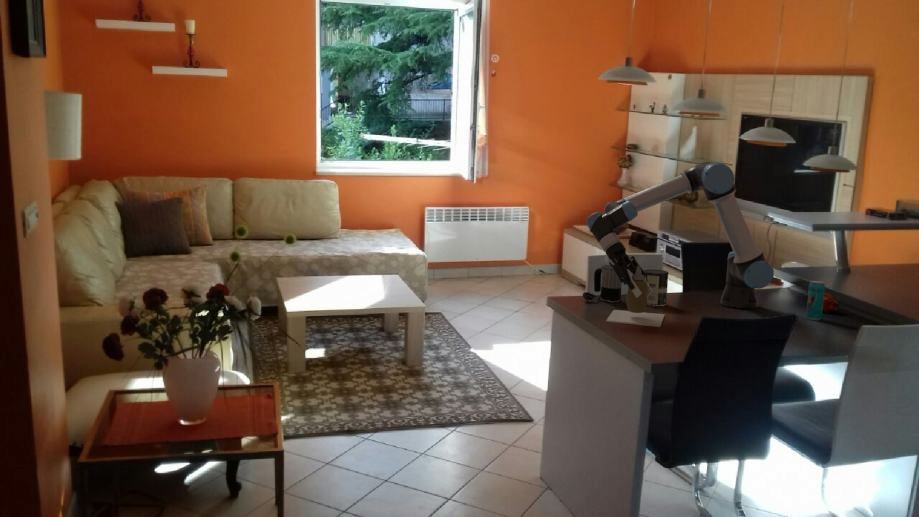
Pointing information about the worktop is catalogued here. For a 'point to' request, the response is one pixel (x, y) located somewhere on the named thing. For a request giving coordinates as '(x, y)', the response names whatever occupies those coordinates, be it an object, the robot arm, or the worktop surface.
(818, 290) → the beverage can
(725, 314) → the worktop surface
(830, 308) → the dragon fruit
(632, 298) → the squeeze bottle
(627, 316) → the mat
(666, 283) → the coffee can
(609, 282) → the milk frother
